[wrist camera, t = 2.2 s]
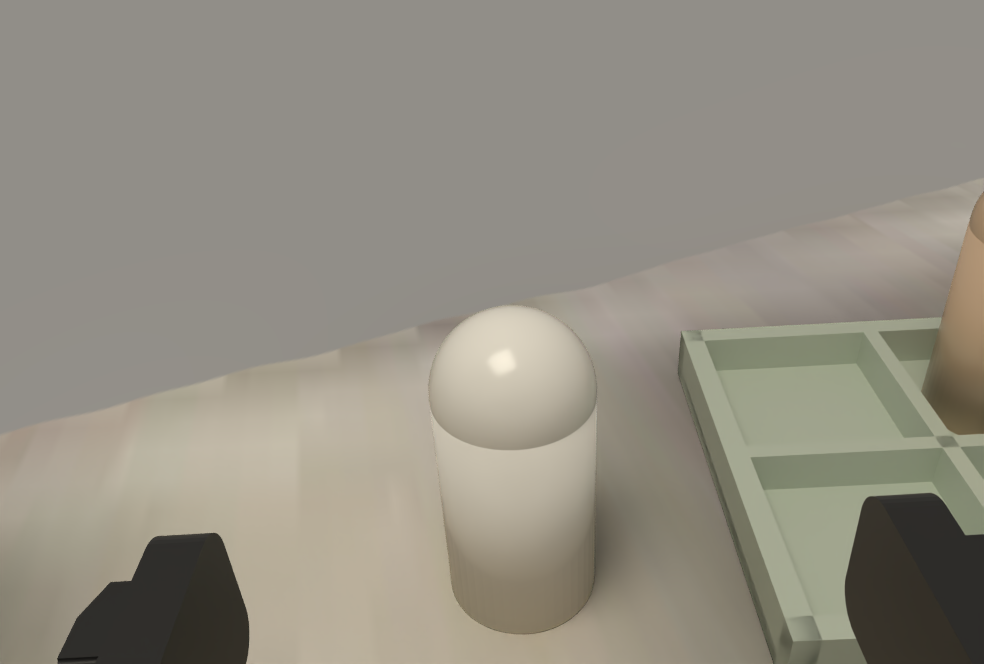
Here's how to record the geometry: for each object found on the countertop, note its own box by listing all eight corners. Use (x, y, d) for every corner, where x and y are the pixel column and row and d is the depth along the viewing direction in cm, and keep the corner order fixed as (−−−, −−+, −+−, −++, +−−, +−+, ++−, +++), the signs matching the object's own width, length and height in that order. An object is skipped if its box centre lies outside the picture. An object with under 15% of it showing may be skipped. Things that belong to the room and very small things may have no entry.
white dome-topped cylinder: (449, 637, 27) (414, 376, 21) (452, 523, 31) (424, 278, 25) (602, 630, 26) (609, 366, 21) (586, 517, 30) (587, 269, 25)
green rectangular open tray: (782, 689, 24) (793, 641, 23) (677, 372, 37) (681, 331, 36) (1326, 665, 24) (1366, 615, 23) (1031, 354, 37) (1047, 311, 36)
